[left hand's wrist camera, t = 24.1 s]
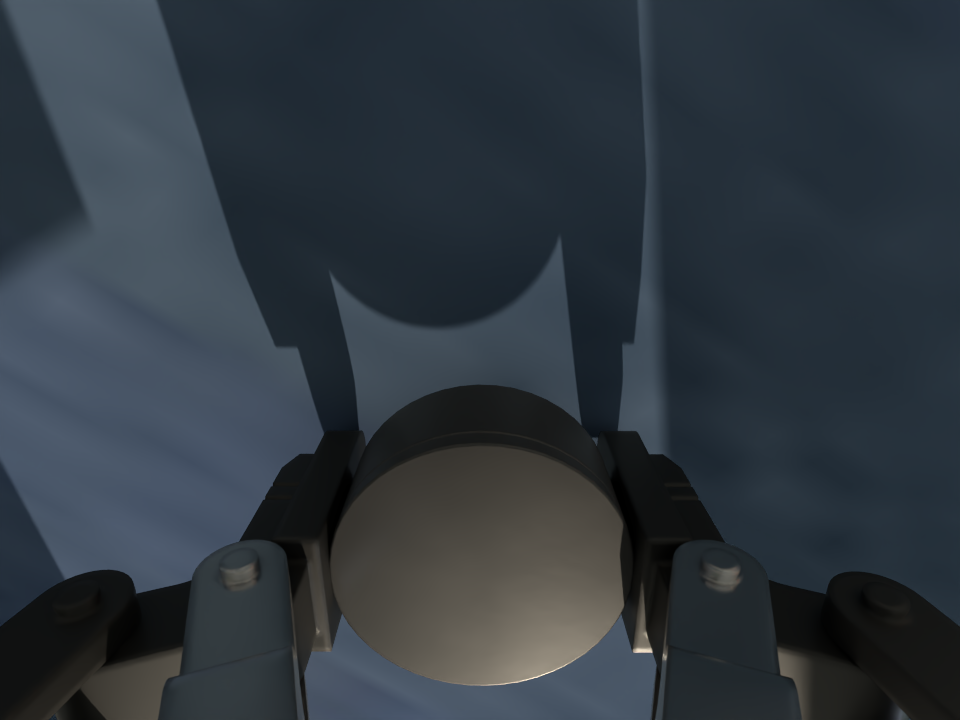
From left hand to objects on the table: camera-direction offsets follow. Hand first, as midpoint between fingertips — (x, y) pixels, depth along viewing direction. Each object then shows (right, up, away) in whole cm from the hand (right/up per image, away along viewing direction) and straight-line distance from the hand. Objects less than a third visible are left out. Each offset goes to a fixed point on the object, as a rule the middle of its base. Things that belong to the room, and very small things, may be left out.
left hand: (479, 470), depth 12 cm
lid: (0, -1, -3) cm, 3 cm away
